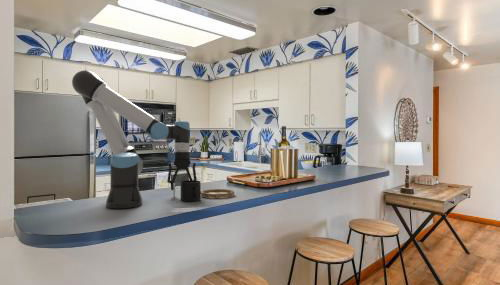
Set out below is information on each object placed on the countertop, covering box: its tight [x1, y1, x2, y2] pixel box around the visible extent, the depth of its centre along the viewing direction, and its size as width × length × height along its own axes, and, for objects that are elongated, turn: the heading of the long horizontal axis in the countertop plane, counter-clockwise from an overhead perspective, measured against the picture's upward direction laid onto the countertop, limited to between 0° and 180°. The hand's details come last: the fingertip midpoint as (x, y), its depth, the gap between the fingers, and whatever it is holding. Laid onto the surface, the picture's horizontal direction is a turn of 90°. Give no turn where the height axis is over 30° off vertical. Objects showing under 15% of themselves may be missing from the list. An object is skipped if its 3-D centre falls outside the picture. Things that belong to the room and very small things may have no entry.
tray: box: [201, 188, 235, 200], centre depth 161 cm, size 17×17×2 cm
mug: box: [180, 179, 202, 203], centre depth 146 cm, size 9×12×9 cm
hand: (182, 196), depth 158 cm, fingers open, 7 cm apart
